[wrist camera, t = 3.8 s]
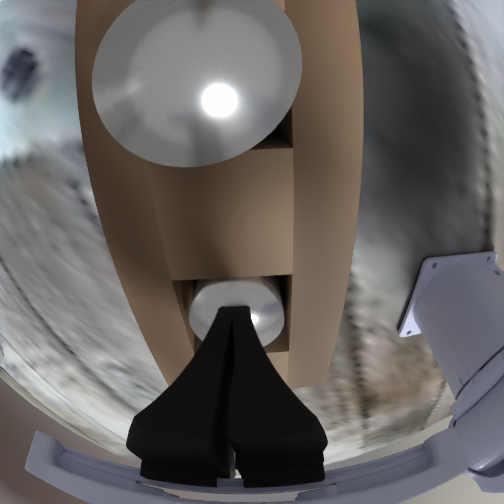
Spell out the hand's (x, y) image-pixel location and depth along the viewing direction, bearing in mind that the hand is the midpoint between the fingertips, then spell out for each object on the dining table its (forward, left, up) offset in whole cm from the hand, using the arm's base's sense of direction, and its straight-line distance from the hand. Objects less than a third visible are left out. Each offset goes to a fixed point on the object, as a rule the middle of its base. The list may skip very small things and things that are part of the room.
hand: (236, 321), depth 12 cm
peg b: (0, 0, -5) cm, 5 cm away
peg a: (0, -10, -2) cm, 10 cm away
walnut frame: (0, -5, -5) cm, 7 cm away
